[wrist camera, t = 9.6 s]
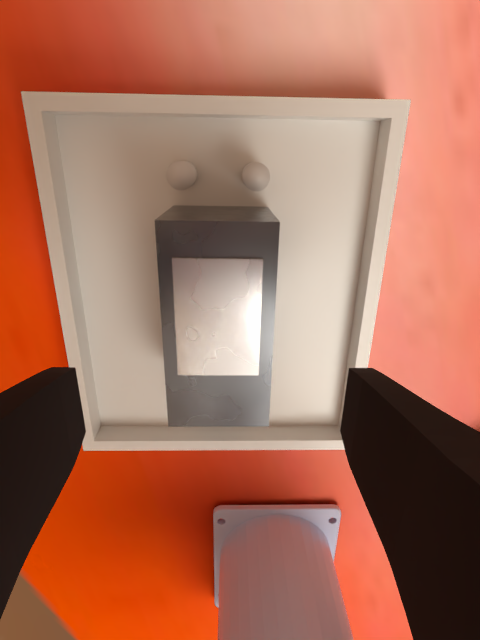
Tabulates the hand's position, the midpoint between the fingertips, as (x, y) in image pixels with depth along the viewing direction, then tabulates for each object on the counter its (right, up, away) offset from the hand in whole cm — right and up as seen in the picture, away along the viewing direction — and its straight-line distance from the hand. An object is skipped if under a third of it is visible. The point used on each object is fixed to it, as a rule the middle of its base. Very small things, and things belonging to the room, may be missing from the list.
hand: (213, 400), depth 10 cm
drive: (0, +3, +8) cm, 8 cm away
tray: (0, +4, +9) cm, 9 cm away
